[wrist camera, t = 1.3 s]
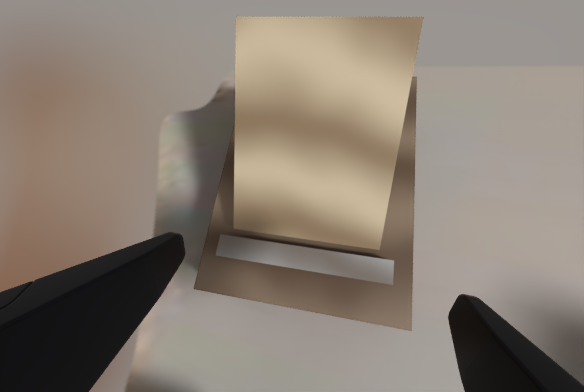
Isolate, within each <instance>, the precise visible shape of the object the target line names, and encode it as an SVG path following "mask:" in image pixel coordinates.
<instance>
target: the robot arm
mask: <svg viewBox="0 0 584 392" xmlns="http://www.w3.org/2000/svg"><path fill="white" fill-rule="evenodd" d="M184 257H185V248H184V242H183V237H182V235H181V234H178V233H173V232H169V233H166V234H163V235H160V236H157V237H154V238H152V239H149V240H146V241H143V242H140V243H138V244H135V245H132V246H129V247H126V248H124V249H121V250H118V251H115V252H112V253H110V254H107V255H104V256H101V257H98V258H96V259H93V260H90V261H87V262H84V263H81V264H79V265H76V266H73V267H70V268H67V269H65V270H62V271H59V272H56V273H53V274H51V275H48V276H45V277H43V278H39V279H37V280H35V281H34V282H28V283H25V284H22V285H20V286H17V287H14V288H11V289H8V290H5V291H3V292H0V392H89V390H90V389H91V388H92V387H93V385H94V384H95V383H96V381H97V380H98V379H99V377H100V376H101V375H102V373H103V372H104V371H105V369H106V368H107V367H108V365H109V364H110V363H111V362H112V360H113V359H114V358H115V356H116V355H117V354H118V352H119V351H120V350H121V348H122V347H123V346H124V344H125V343H126V342H127V340H128V339H129V338H130V336H131V335H132V334H133V332H134V331H135V330H136V328H137V327H138V326H139V324H140V323H141V322H142V320H143V319H144V318H145V317H146V315H147V314H148V313H149V311H150V310H151V309H152V307H153V306H154V305H155V303H156V302H157V300H158V299H159V298H160V296H161V295H162V293H163V292H164V290H165V288H166V287H167V285H168V284H169V282H170V280H171V279H172V277H173V275H174V274H175V272H176V271H177V269H178V267H179V266H180V264H181V263H182V261H183V259H184ZM448 319H449V325H450V330H451V335H452V339H453V344H454V349H455V354H456V358H457V363H458V368H459V372H460V376H461V380H462V383H463V387H464V390H465V392H584V386H583V385H582V384H581V383H580V382H579V381H577V380H576V379H575V378H574V377H573V376H571V375H570V374H569V373H568V372H567V371H565V370H564V369H563V368H562V367H561V366H559V365H558V364H557V363H556V362H555V361H553V360H552V359H551V358H550V357H549V356H547V355H546V354H545V353H544V352H543V351H541V350H540V349H539V348H538V347H537V346H535V345H534V344H533V343H532V342H531V341H529V340H528V339H527V338H526V337H525V336H523V335H522V334H521V333H520V332H519V331H517V330H516V329H515V328H514V327H513V326H511V325H510V324H509V323H508V322H507V321H505V320H504V319H503V318H502V317H501V316H499V315H498V314H497V313H496V312H495V311H494V310H492V309H491V308H490V307H489V306H488V305H486V304H485V303H484V302H483V301H482V300H480V299H479V298H477V297H475V296H470V295H465V294H461V295H459V296H458V297H457V299H456V301H455V303H454V305H453V306H452V308H451V310H450V312H449V316H448Z"/></svg>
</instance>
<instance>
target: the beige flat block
mask: <svg viewBox="0 0 584 392" xmlns="http://www.w3.org/2000/svg"><path fill="white" fill-rule="evenodd" d="M416 89H417V77H412V81H411V86H410V91H409V96H408V102H407V107H406V112H405V118H404V123H403V128H402V134H401V139H400V144H399V149H398V155H397V160H396V165H395V171H394V176H393V181H392V187H391V192H390V197H389V202H388V208H387V213H386V218H385V224H384V229H383V234H382V239H381V245H380V250H376V249H369V248H362V247H355V246H349V245H342V244H335V243H328V242H321V241H314V240H308V239H301V238H294V237H287V236H280V235H273V234H266V233H260V232H253V231H246V230H239V229H234V153H235V124H234V128H233V132H232V136H231V140H230V144H229V148H228V152H227V156H226V160H225V164H224V168H223V172H222V176H221V180H220V184H219V188H218V192H217V197H216V201H215V205H214V209H213V213H212V217H211V221H210V225H209V229H208V233H207V237H206V241H205V245H204V249H203V253H202V257H201V261H200V265H199V269H198V273H197V278H196V282H195V286H194V289H196V290H202V291H207V292H212V293H217V294H222V295H227V296H233V297H238V298H243V299H248V300H253V301H259V302H264V303H269V304H274V305H279V306H284V307H290V308H295V309H300V310H305V311H310V312H316V313H321V314H326V315H331V316H336V317H341V318H347V319H352V320H357V321H362V322H367V323H373V324H378V325H383V326H388V327H393V328H398V329H404V330H409V331H412V283H413V234H414V186H415V137H416Z"/></svg>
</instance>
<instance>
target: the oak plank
mask: <svg viewBox="0 0 584 392" xmlns="http://www.w3.org/2000/svg"><path fill="white" fill-rule="evenodd" d="M422 22H423V17H236V73H235V153H234V229H239V230H246V231H253V232H260V233H266V234H273V235H280V236H287V237H294V238H301V239H308V240H314V241H321V242H328V243H335V244H342V245H349V246H355V247H362V248H369V249H376V250H380V245H381V239H382V234H383V229H384V224H385V218H386V213H387V208H388V202H389V197H390V192H391V187H392V181H393V176H394V171H395V165H396V160H397V155H398V149H399V144H400V139H401V134H402V128H403V123H404V118H405V112H406V107H407V102H408V96H409V91H410V86H411V81H412V75H413V70H414V65H415V59H416V54H417V49H418V43H419V38H420V33H421V28H422Z"/></svg>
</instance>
